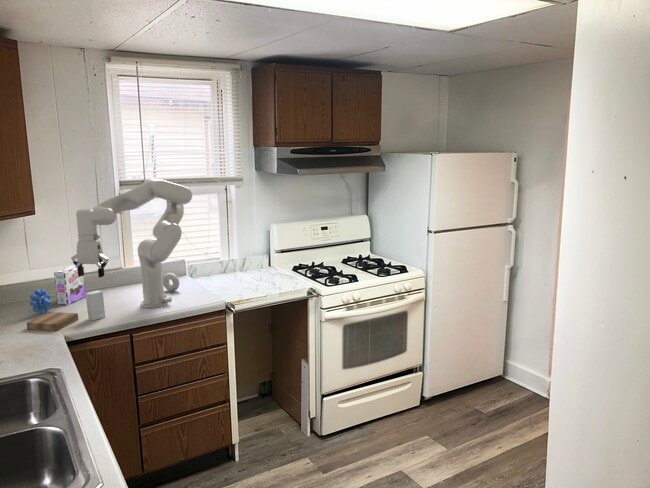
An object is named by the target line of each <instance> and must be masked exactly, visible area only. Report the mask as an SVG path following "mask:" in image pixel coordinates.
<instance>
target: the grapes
mask: <svg viewBox="0 0 650 488" xmlns="http://www.w3.org/2000/svg"><path fill="white" fill-rule="evenodd" d="M29 298H30V299H31V301H30V302H29V305H30V307H32V311H33V312H35V313H38V314H40V315H42V314H43V315H44V314H45V312H49V310H50V306H51V305H52V300H51V295H50V293H48V292H47V291H46V289H44V288H42V289H34V291H33V293H31V294H30V296H29Z"/></svg>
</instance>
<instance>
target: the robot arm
mask: <svg viewBox="0 0 650 488" xmlns="http://www.w3.org/2000/svg"><path fill="white" fill-rule="evenodd" d="M154 199H162V200H165V201H166V208H165V211H164V212H163V214H162V215H161V217H160V218H159V220H157V222H156V224H155V225H154V226H153V229H152V235H153V237H154V238H155V239H156V240H155V239H151V238H150V239H143V240H142V241H140V242H139V244H138V247H137V255H138V259H139V260H138V261H139V264H140V271H141V272H140V274H141V276H140V277H141V285H142V287H141V288H142V297H143V298H142V299H143V301H141V302H140V307H141V308H144V309H157V308H161V307H164V306H166V305H168V303H172V301H173V299H172V296H167V293H165V287H164V285H163V277H164V275H163V265H162V263H163V262H165V261H166V260H168V258H169V257H170V255H171V254H172V253H173V251H174V249H175V248H176V246H177V245H178V243H180V240H181V239H182V235H183V234H182V233H183V232H182V228H181V226H180V225H179V224H180V223H181V221H182V219H183V217H184V214H185V213H184V212H185V210H184V207H185V205H186V204H189V203H190V202H191V201H192V199H193V192H192V190H191V189H190V188H189V187H187V186H184V185H181V184H178V183H174V182H171V181H167V180H164V179H159V178H150V179H149V180H146V181H144V182H143V183H140V184H139V185H137V186H135V187H133V188H132V189H130V190H128V191H126V192H123V193H120V194H119V195H116V196H114V197H112V198H111V197H110V198H109V199H106V200H104V201H103V202H101V203H98V204H97V205H95V206H94V207H93V208H82V209H78V210H77V211H76V212H75V213H76V214H75V216H76V227H77V237H78V239H77V244H76V254H75V255H73V256H71V257H70V259H71V261H72V264H73V265H74V266H76V268H77V270H78V276H79V277H80V276H83V277H84V275H85V270H84V269H85V268H84V266H83V265H96V267H98V269H97V275H98V278H102V277H105V267H106V266H107V265H108V262H109V260H110V259H109V257H107V256H105V255H104V253H103V252H104V251H103V247H102V244H101V240H99V239H100V238H101V237H100V235H98V230H97V229H98V227H97V226H109V225H113V224H114V223H115V222H116V220H117V214H120V213H123V212H125V211H133V210H136V209H139V208H141V207H142V206H144V205H145V204H148V203H149V202H151V201H153V200H154Z"/></svg>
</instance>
